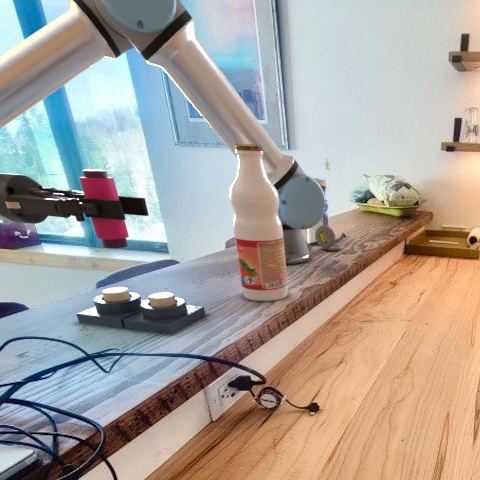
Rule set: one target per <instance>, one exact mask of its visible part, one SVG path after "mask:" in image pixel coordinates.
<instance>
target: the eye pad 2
mask: <svg viewBox="0 0 480 480" xmlns="http://www.w3.org/2000/svg"><path fill="white" fill-rule="evenodd" d="M147 297H148V300H149V302H150V306H151V307H167V306H171V305H174V304H176V300H175V297H176V296H175V293H173V292H171V291H159V292H153V293H151V294H148V296H147Z"/></svg>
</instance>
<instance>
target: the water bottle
mask: <svg viewBox="0 0 480 480" xmlns="http://www.w3.org/2000/svg"><path fill="white" fill-rule="evenodd" d="M324 164H325V171H327V170H328V171H330V165H331V162H330V161H329V160H328V158H326V159H325V162H324ZM311 178H312V179H314V180H315V181H316V182H318V184H319V185H320V186H321V188H322V189H323V192H324V195H325V200H326V204H325V211H324V214H323V216H322V217H326V218H327V219H328V222H327V219H326V218H322V219H321V220H322V221H324V220H326V222H327V223H326V226H329V227H330V214H329V211H328V209H329V202H328V201H329V199H328V197H327V191H329V190H330V188H329V178H326V179H320V178H318V177H311ZM321 220H320V221H319V222H318V223H317V224H316V225H315V226H313V227H311V228H309V229H306V230H307V244H308V243H311V242H317V241H316V238H315V233H316V230H317V229H318V228H319V227H320V226H322V225H324V223H323V222H322V221H321ZM321 237H322V235H321ZM321 239H322V238H321ZM326 241H327V240H326ZM328 241H329V240H328Z"/></svg>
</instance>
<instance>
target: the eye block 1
mask: <svg viewBox="0 0 480 480" xmlns="http://www.w3.org/2000/svg"><path fill="white" fill-rule="evenodd" d="M129 294H130V299H127V300H123V301H114V302H108V301H104V298H103V295H102V294H100V295H97V296H95V297H94V299H93V300H92V301H93V304H94V306H93V307H90V308H88V309H85V310H82V311H79V312H77V313H76V317H77V320H78V323H79V324H84V325H92V326H101V327H109V328H115V329H116V328H117V329H126V327H125V324H124V321H123V319H126V318H128V317H130V316H132V315H135V314H137V313H139V312H141V308H140V305H141V303H142V302H144V301H146V300H147V299H142V297H141V295H140V294H139V293H137V292H133V291H129Z"/></svg>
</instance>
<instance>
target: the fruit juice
mask: <svg viewBox="0 0 480 480" xmlns="http://www.w3.org/2000/svg"><path fill="white" fill-rule="evenodd" d="M235 150H236V154H237V155H238V159H237V161H238V164H237V172H236V177H235V180H234V181H233V183H232V184H231V186H230V188H229V201H230V204H231V206H232V209H233V212H234V218H233V222H232V224H233V225H232V226H233V237H234V243H235V250H236V257H237V264H238V271H239V278H240V286H241V291H242V295H243V296H244V298H246V299H247V300H250V301H255V302H273V301H278V300H282V299H284V298H286V297H287V296H288V294H289V286H288V285H289V284H288V275H287V273H288V272H287V264H286V261H285V250H284V238H283V228H282V223H281V220H280V218H279V216H278V209H279V194H278V191H277V189H276V188H275V186H274V185H273V184H272V183H271V181H270V180H269V178H268V176H267V174H266V171H265V168H264V165H263V160H262V155H263V146H262V145H259V144H242V143H235Z"/></svg>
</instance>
